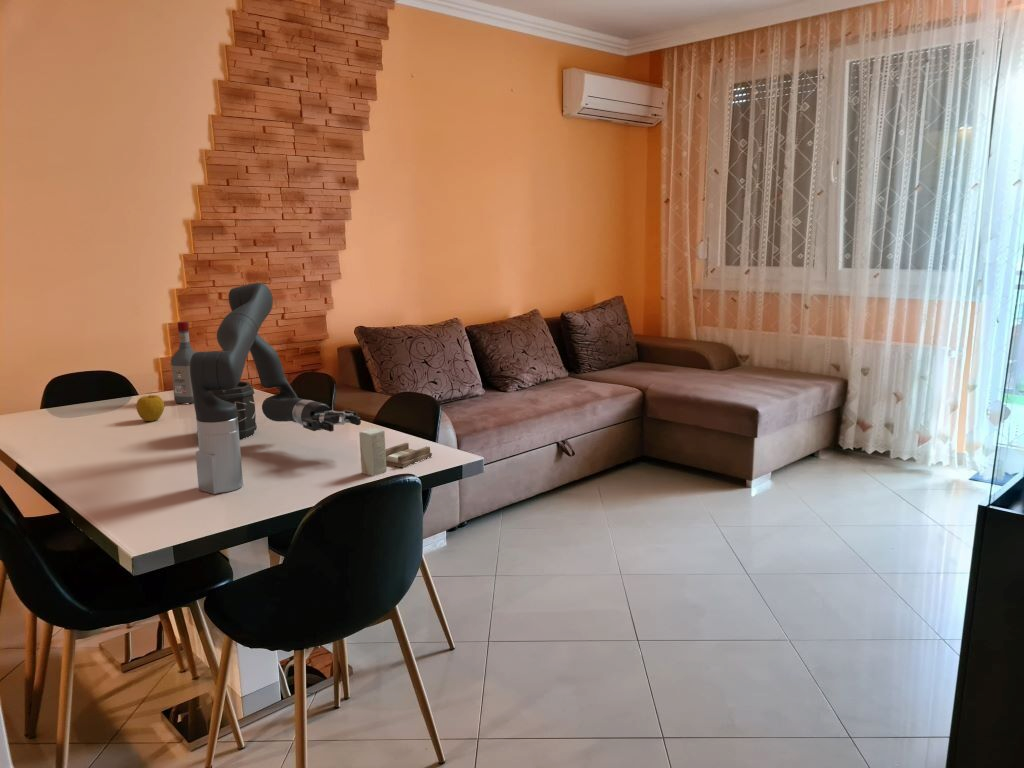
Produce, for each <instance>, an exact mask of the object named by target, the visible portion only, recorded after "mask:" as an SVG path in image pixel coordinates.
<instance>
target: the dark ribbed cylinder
mask: <svg viewBox="0 0 1024 768" xmlns="http://www.w3.org/2000/svg"><path fill="white" fill-rule="evenodd" d="M212 393H213V395H215V396H216V397H217V398H219V399H221V400H224V401H226V402H230V403H233V404H234V405H236V407H237V412H238V426H239V439H240V440H244V439H243V438H245V439H247V438H249V436H250V437H252V436H254V435H255V431H257V428H258V426H257V422H256V417H257V416H256V403H255V399H254V394H255V390H254V387H253V386H251V383H250V382H248V381H242V380H240V382H239V384H238V385H237V386H236V387H235V388H234V389H230V390H212ZM196 434H198V431H196ZM253 434H254V435H253ZM251 435H252V436H251ZM246 437H247V438H246Z"/></svg>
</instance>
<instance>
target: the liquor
mask: <svg viewBox="0 0 1024 768" xmlns="http://www.w3.org/2000/svg"><path fill="white" fill-rule="evenodd" d="M177 331H178V338H179V345H178V347H179V348H178V349H177V351H176V352H175V353H174V354H173V355H172V357H171V359H170V366H171V374H172V376H171V377H172V379H171V380H172V387H173V398H174V401H175V403H176V404H177V403H194V398H193V391H192V384H191V377H190V360H191V357H192V355H193V354H194V353H196V352H197V351H195V350H194V349H193V348H192V346H191V343H190V333H189V332H190V328H189V321H178V322H177Z"/></svg>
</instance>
